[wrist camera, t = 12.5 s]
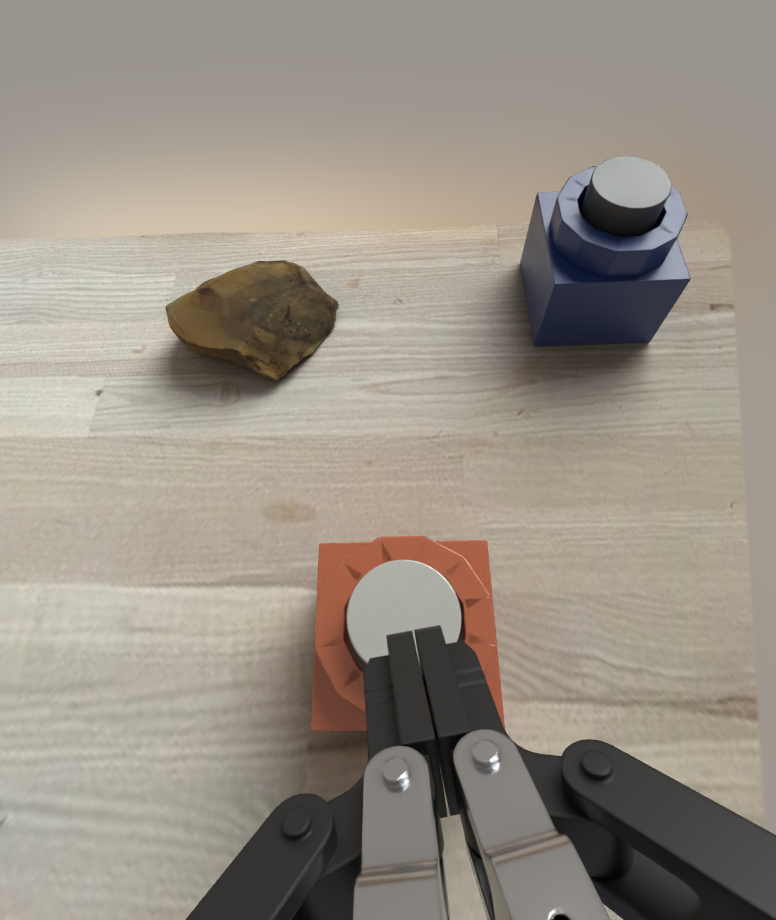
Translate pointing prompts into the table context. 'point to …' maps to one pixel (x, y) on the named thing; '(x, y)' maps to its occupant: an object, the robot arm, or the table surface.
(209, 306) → the decorative stone
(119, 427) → the table surface
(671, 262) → the near button housing
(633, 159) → the grey push button
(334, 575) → the button base
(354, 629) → the light grey short cylinder
